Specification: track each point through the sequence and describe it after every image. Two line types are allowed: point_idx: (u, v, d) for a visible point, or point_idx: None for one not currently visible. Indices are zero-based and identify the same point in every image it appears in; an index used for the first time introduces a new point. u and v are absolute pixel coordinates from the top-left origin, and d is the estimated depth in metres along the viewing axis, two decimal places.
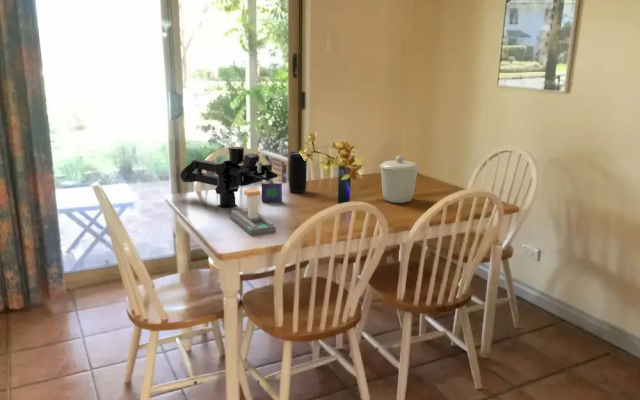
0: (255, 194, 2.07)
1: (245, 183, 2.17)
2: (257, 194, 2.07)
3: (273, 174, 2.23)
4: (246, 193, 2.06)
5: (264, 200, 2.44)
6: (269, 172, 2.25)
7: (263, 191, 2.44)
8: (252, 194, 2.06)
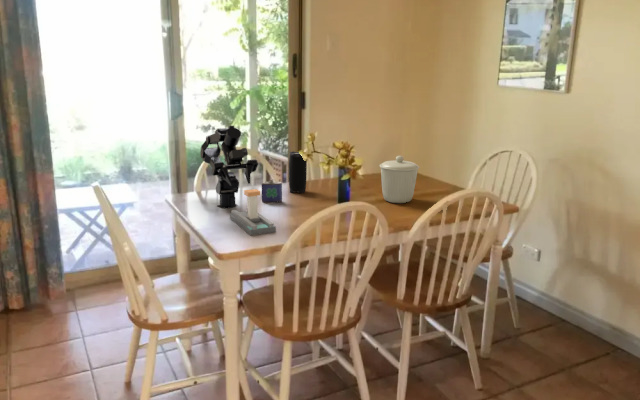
0: (255, 194, 2.07)
1: (219, 175, 2.21)
2: (257, 194, 2.07)
3: (247, 178, 2.22)
4: (246, 193, 2.06)
5: (264, 200, 2.44)
6: (247, 173, 2.23)
7: (263, 191, 2.44)
8: (252, 194, 2.06)
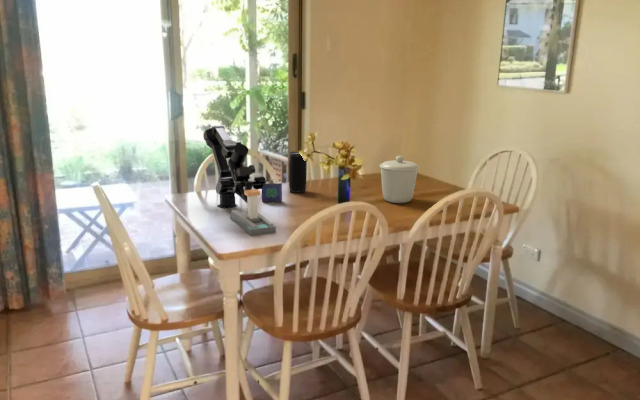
0: (255, 194, 2.07)
1: (235, 192, 2.17)
2: (257, 194, 2.07)
3: (246, 197, 2.14)
4: (246, 193, 2.06)
5: (264, 200, 2.44)
6: None
7: (263, 191, 2.44)
8: (252, 194, 2.06)
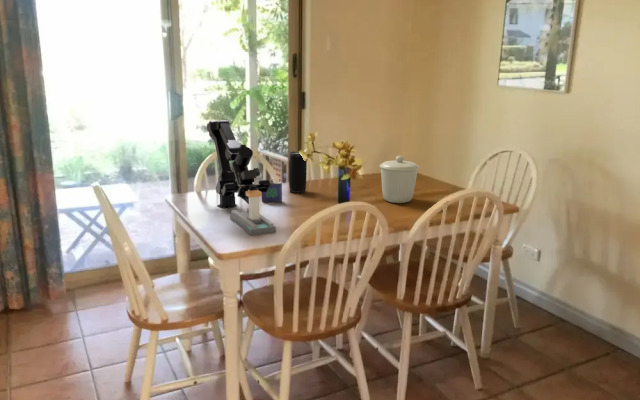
0: (257, 195, 2.05)
1: (239, 195, 2.13)
2: (259, 195, 2.06)
3: None
4: (247, 194, 2.05)
5: (264, 200, 2.44)
6: None
7: None
8: (254, 195, 2.05)
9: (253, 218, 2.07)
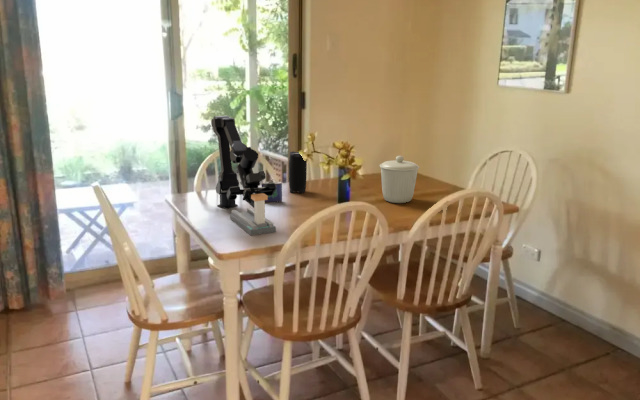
0: (262, 199, 2.00)
1: (244, 199, 2.08)
2: (264, 198, 2.01)
3: None
4: (253, 197, 2.00)
5: None
6: None
7: None
8: (259, 199, 2.00)
9: (259, 222, 2.02)
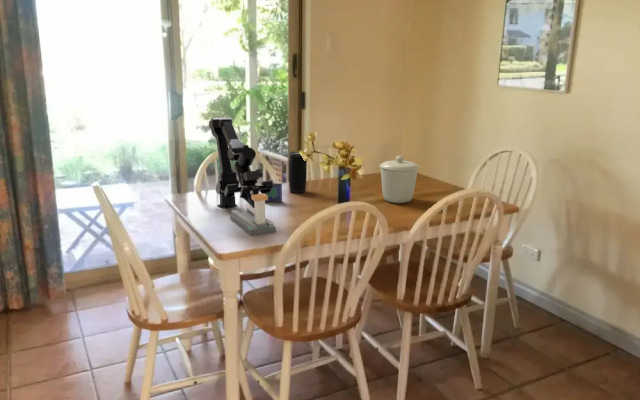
0: (263, 199, 2.00)
1: (241, 196, 2.10)
2: (265, 199, 2.01)
3: (253, 202, 2.08)
4: (253, 198, 2.00)
5: None
6: None
7: None
8: (259, 199, 2.00)
9: (259, 222, 2.02)
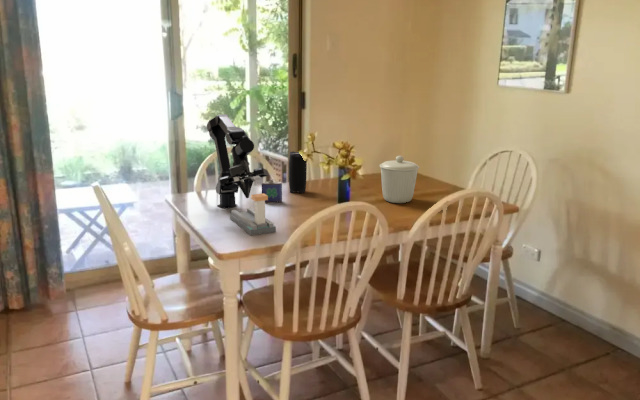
0: (263, 199, 2.00)
1: None
2: (265, 199, 2.01)
3: None
4: (253, 198, 2.00)
5: None
6: None
7: (263, 191, 2.44)
8: (259, 199, 2.00)
9: (259, 222, 2.02)
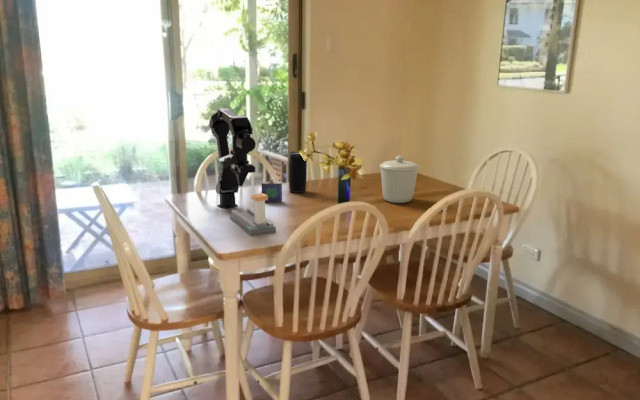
0: (263, 199, 2.00)
1: None
2: (265, 199, 2.01)
3: None
4: (253, 198, 2.00)
5: None
6: None
7: (263, 191, 2.44)
8: (259, 199, 2.00)
9: (259, 222, 2.02)
